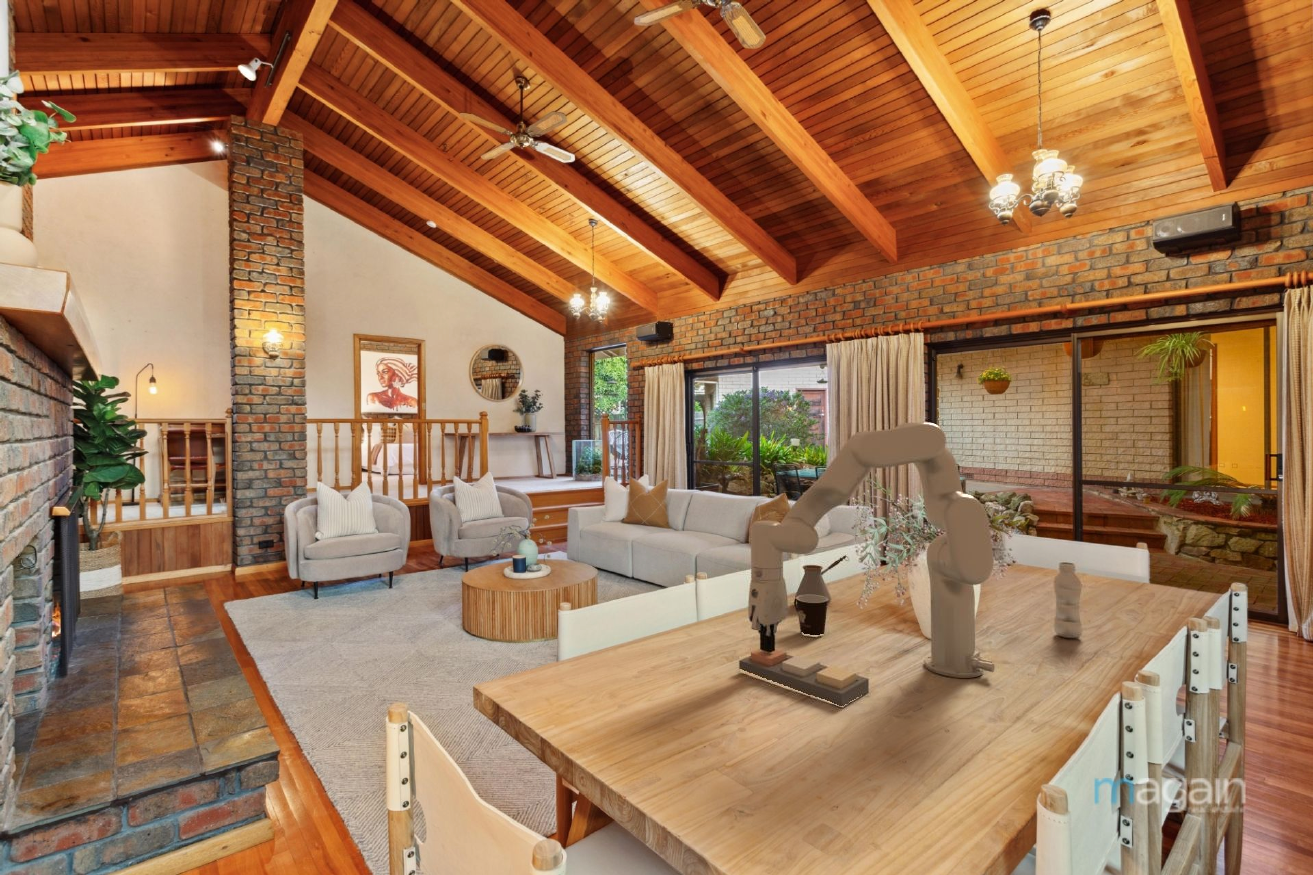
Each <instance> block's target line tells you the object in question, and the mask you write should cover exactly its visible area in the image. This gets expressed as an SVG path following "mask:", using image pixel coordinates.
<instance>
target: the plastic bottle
mask: <svg viewBox="0 0 1313 875" xmlns="http://www.w3.org/2000/svg"><path fill="white" fill-rule="evenodd" d="M1058 565H1059V566H1058V570H1059V572H1058V574H1057V575H1056V576H1055V577H1054V579H1053V589H1054V595H1055V605H1056V606H1055V617H1054V619H1053V620H1054V621H1053V629H1054V630H1053V631H1054V632H1055V634H1056V635H1057V636H1060V637H1062V638H1066V639H1079V638H1080V637H1082V633H1083V627H1082V621H1081V614H1080V600H1081V592H1082V585H1083V584H1082V582H1081V580H1080V579H1079V577H1078V576H1077V574H1076V573H1075V572H1076V564H1075V563H1073V562H1069V561H1068V562H1067V561H1065V562H1063V561H1062V562H1059V563H1058Z"/></svg>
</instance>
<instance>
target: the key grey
mask: <svg viewBox="0 0 1313 875" xmlns="http://www.w3.org/2000/svg"><path fill="white" fill-rule="evenodd" d="M820 663H821V662H820V661H817V660H814V659H811V658H807V657H804V656H801V655H796V656H793V658H791V659H788V660H786V661H784V662H782V670H784V671H787V672H790V673H793V674H796V675H799V676H802V677H808V676H810V675H812V674H814V673H816V672H818V671H820V665H821V664H820Z"/></svg>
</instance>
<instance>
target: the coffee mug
mask: <svg viewBox="0 0 1313 875" xmlns="http://www.w3.org/2000/svg"><path fill="white" fill-rule="evenodd" d="M827 602H828V599H827V598H826V597H824V596H819V595H800V596H797V597H796V598H795V597H794V601H793V607H795V610H796V613H797V615H798V622H799V628H800V630H801V631H800V633H801V632H803V633H804V634H810V635H820V634H824V635H825V632H826V631H825V629H826V621H827V612H828V605H827Z"/></svg>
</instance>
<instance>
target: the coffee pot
mask: <svg viewBox="0 0 1313 875" xmlns="http://www.w3.org/2000/svg"><path fill="white" fill-rule="evenodd" d="M846 558H847V559H846ZM844 560H845V561H846V562H849V561H850V558H849V557H848V556H847V555H843V556H842V557H840V558H839V559H837V560H834V562H832V563H831V564H830V565H829V566H828V567H827V568H825V569H824V567H823V566H821V565H817V564H805V565H803V566H802V569H803V570H804V574H803V576H802V579H801V581H800V584H799V586H798V588H797V591H796V593H795V595H794V599H795V598H796V597H797V596H800V595H819V596H824V597H826V598H827V599H828V602H827V606H828V605H829V604H830V602H831V601H832V596H831V594H830V592H829V590H828V587H827V585H826V583H825V579H824V578H823V575H824V574H825V573H827V572H828V571H829V570H831V569H833V568H835V567H836V566H837V565H839V564H840V563H841V562H843V561H844ZM823 569H824V570H823Z"/></svg>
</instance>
